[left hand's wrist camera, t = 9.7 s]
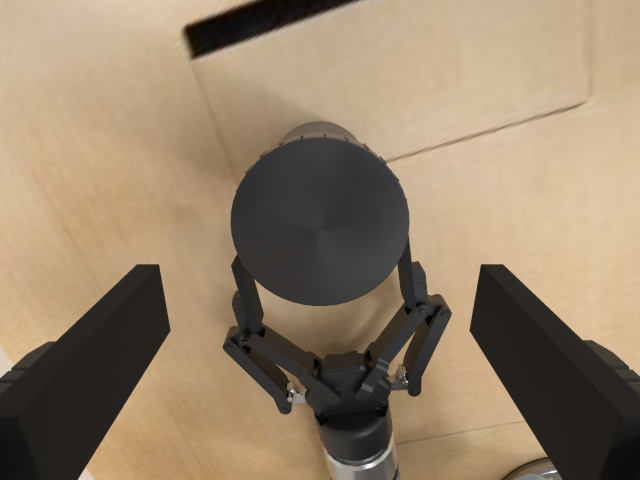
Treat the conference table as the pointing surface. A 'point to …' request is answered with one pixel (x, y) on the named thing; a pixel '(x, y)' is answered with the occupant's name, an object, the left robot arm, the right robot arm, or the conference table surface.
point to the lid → (320, 219)
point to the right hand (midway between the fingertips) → (318, 243)
